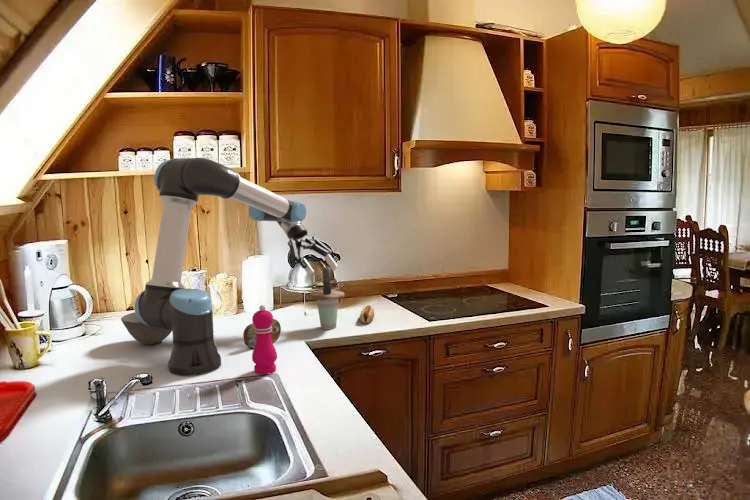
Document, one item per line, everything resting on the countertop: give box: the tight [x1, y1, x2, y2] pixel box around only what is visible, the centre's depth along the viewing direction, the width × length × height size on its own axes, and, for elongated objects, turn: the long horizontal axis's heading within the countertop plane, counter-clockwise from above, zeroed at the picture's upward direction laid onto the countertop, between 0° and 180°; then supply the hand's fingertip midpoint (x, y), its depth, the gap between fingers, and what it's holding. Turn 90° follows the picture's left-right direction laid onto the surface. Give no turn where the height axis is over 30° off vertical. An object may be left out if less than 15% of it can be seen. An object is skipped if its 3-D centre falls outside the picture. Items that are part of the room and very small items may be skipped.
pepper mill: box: [251, 304, 278, 375], centre depth 156 cm, size 7×7×20 cm
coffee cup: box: [316, 299, 340, 330], centre depth 202 cm, size 9×8×12 cm
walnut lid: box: [309, 266, 345, 301], centre depth 200 cm, size 13×13×11 cm
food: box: [359, 305, 375, 324], centre depth 212 cm, size 14×6×5 cm, turn 175°
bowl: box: [120, 311, 173, 345], centre depth 186 cm, size 19×19×10 cm
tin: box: [242, 318, 282, 349], centre depth 182 cm, size 15×3×8 cm, turn 143°
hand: (324, 271), depth 201 cm, fingers open, 13 cm apart
